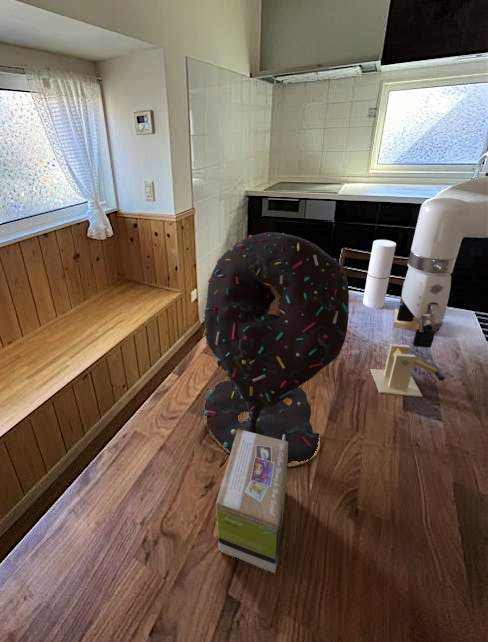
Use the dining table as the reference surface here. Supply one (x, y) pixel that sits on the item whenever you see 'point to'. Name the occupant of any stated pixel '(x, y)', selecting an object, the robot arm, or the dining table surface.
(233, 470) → the tea box
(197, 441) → the dining table surface
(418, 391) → the switch bracket
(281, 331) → the chocolate sprinkled donut
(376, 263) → the cylindrical container
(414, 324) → the button block
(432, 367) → the switch lever
